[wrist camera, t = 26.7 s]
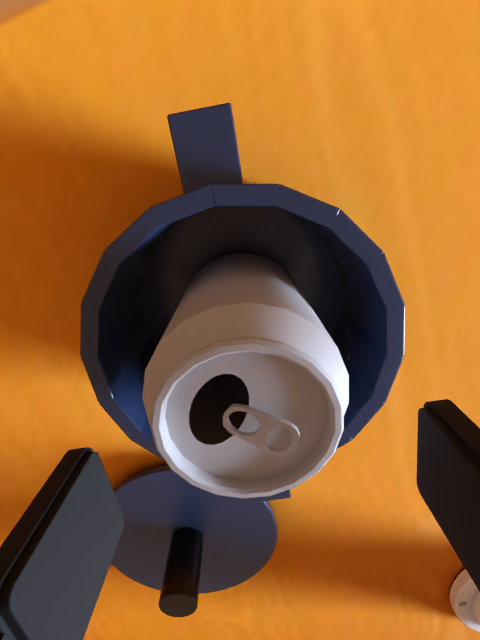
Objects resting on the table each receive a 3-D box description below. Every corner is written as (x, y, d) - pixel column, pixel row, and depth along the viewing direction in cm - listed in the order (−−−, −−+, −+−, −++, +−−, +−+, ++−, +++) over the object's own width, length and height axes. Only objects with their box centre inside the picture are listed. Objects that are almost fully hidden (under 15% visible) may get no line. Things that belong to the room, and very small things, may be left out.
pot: (342, 112, 18) (409, 61, 11) (356, 410, 25) (402, 494, 18) (86, 161, 19) (-4, 142, 12) (171, 437, 26) (146, 527, 19)
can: (205, 232, 20) (162, 284, 8) (317, 274, 21) (414, 369, 9) (171, 338, 22) (104, 487, 11) (273, 371, 23) (307, 537, 12)
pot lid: (262, 445, 26) (270, 517, 20) (285, 570, 32) (295, 653, 26) (76, 471, 27) (33, 547, 21) (130, 588, 33) (107, 673, 27)
